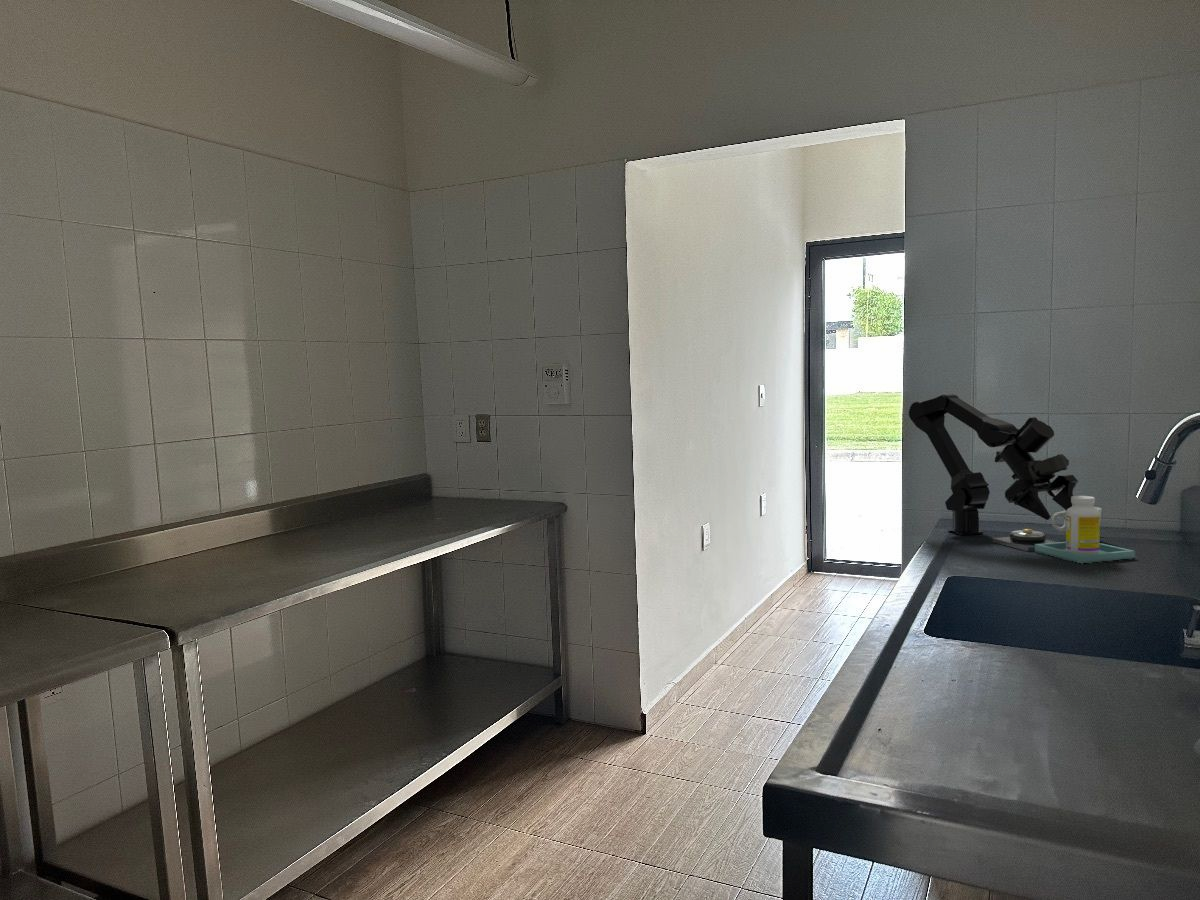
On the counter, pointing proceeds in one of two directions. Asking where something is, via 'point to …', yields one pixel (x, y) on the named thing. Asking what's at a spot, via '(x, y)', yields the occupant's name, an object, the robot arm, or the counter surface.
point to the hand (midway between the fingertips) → (1062, 516)
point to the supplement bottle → (1082, 526)
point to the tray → (1104, 554)
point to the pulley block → (1023, 539)
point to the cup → (1065, 519)
